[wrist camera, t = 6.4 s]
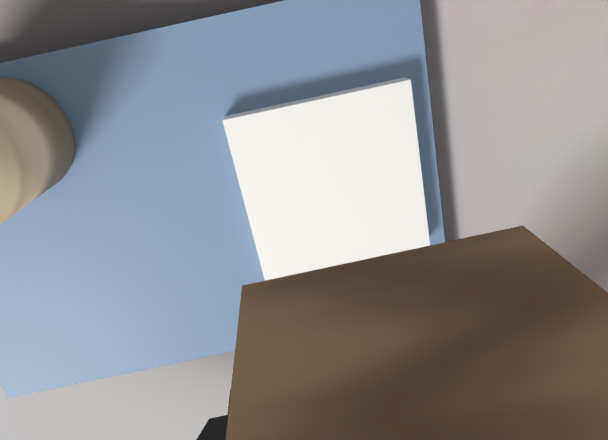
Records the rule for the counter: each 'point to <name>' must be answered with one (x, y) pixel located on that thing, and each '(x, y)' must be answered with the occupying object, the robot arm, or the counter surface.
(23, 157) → the maple cylinder
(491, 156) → the counter surface
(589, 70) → the counter surface
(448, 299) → the walnut cube
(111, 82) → the board
